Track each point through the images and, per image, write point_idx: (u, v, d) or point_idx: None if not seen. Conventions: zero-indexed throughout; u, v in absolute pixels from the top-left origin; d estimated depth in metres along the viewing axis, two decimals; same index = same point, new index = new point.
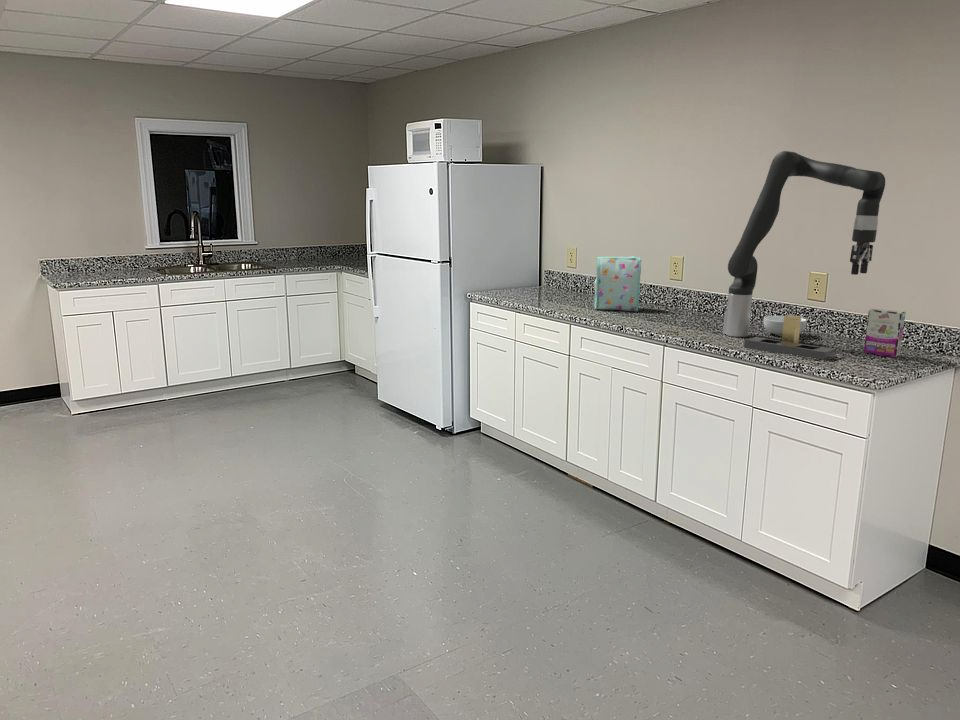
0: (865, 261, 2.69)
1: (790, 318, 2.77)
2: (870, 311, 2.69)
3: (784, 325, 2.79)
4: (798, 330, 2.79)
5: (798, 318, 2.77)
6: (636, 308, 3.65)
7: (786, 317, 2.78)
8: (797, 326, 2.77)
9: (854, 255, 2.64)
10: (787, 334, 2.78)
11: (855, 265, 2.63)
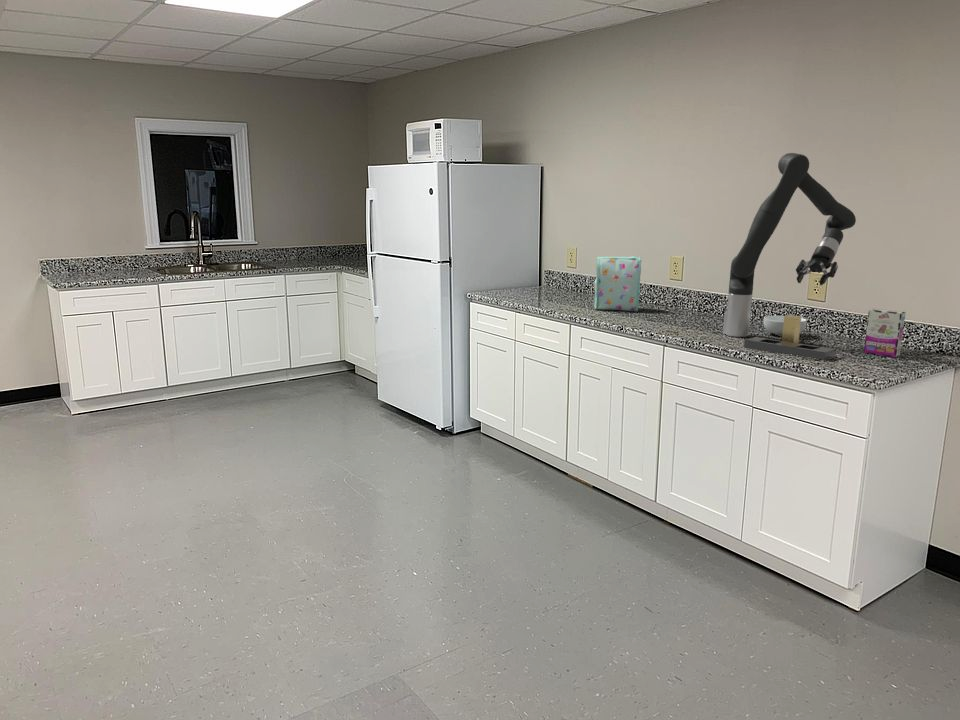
0: (803, 273, 2.88)
1: (790, 318, 2.77)
2: (870, 311, 2.69)
3: (784, 325, 2.79)
4: (798, 330, 2.79)
5: (798, 318, 2.77)
6: (636, 308, 3.65)
7: (786, 317, 2.78)
8: (797, 326, 2.77)
9: (825, 268, 2.82)
10: (787, 334, 2.78)
11: (826, 277, 2.81)
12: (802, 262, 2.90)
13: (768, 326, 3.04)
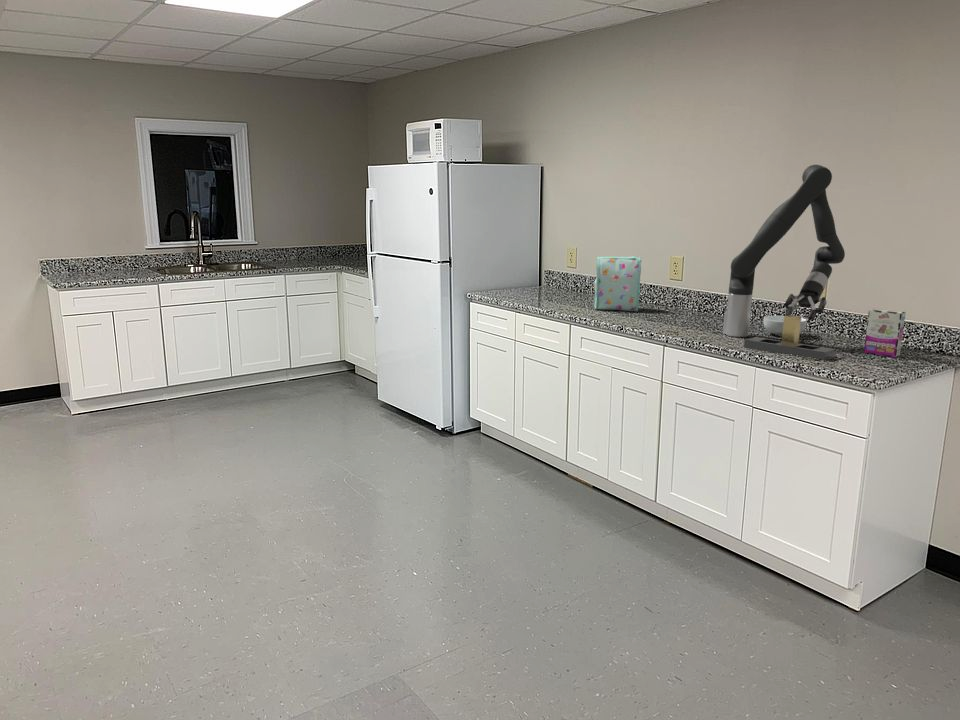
0: (792, 308, 2.86)
1: (790, 318, 2.77)
2: (870, 311, 2.69)
3: (784, 325, 2.79)
4: (798, 330, 2.79)
5: (798, 318, 2.77)
6: (636, 308, 3.65)
7: (786, 317, 2.78)
8: (797, 326, 2.77)
9: (814, 304, 2.81)
10: (787, 334, 2.78)
11: (815, 313, 2.79)
12: (791, 296, 2.88)
13: (768, 326, 3.04)
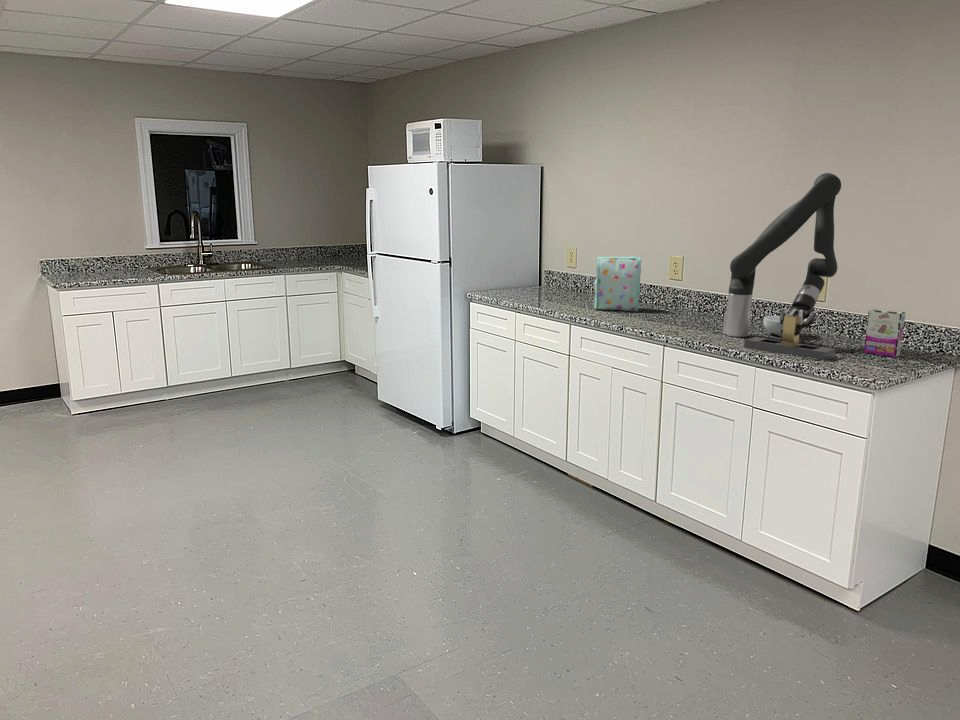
0: None
1: (790, 318, 2.77)
2: (870, 311, 2.69)
3: (784, 325, 2.79)
4: None
5: (798, 318, 2.77)
6: (636, 308, 3.65)
7: (786, 317, 2.78)
8: None
9: (802, 318, 2.78)
10: (787, 334, 2.78)
11: (801, 328, 2.77)
12: (783, 311, 2.84)
13: (768, 326, 3.04)
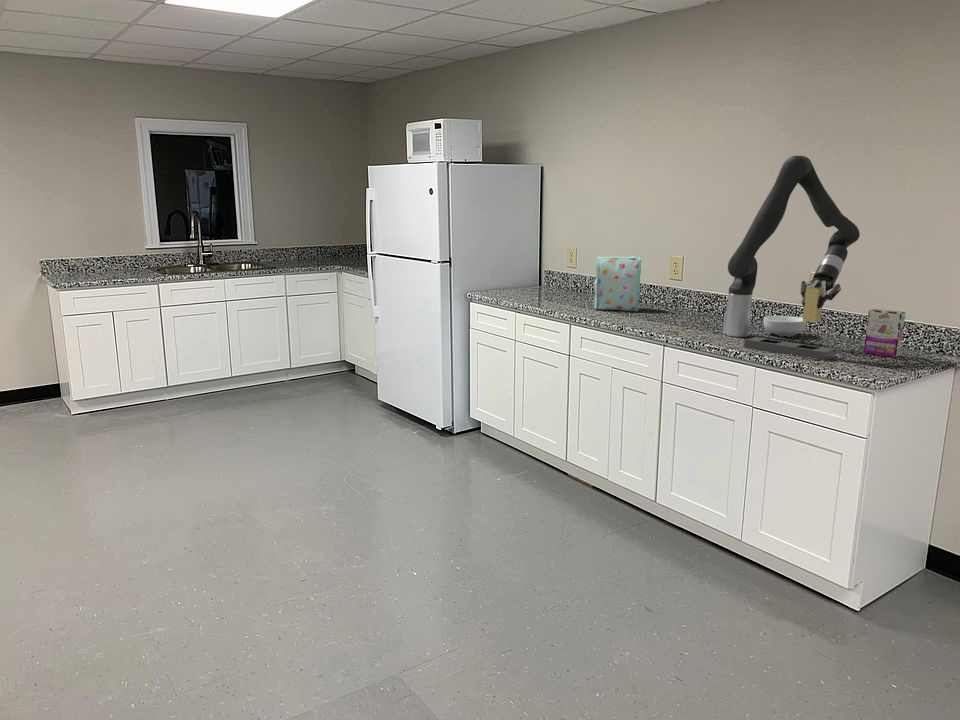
0: None
1: (812, 289, 2.60)
2: (870, 311, 2.69)
3: (806, 297, 2.62)
4: None
5: (821, 289, 2.60)
6: (636, 308, 3.65)
7: (808, 289, 2.61)
8: None
9: (825, 290, 2.61)
10: (809, 306, 2.61)
11: (824, 300, 2.60)
12: (804, 283, 2.67)
13: (768, 326, 3.04)
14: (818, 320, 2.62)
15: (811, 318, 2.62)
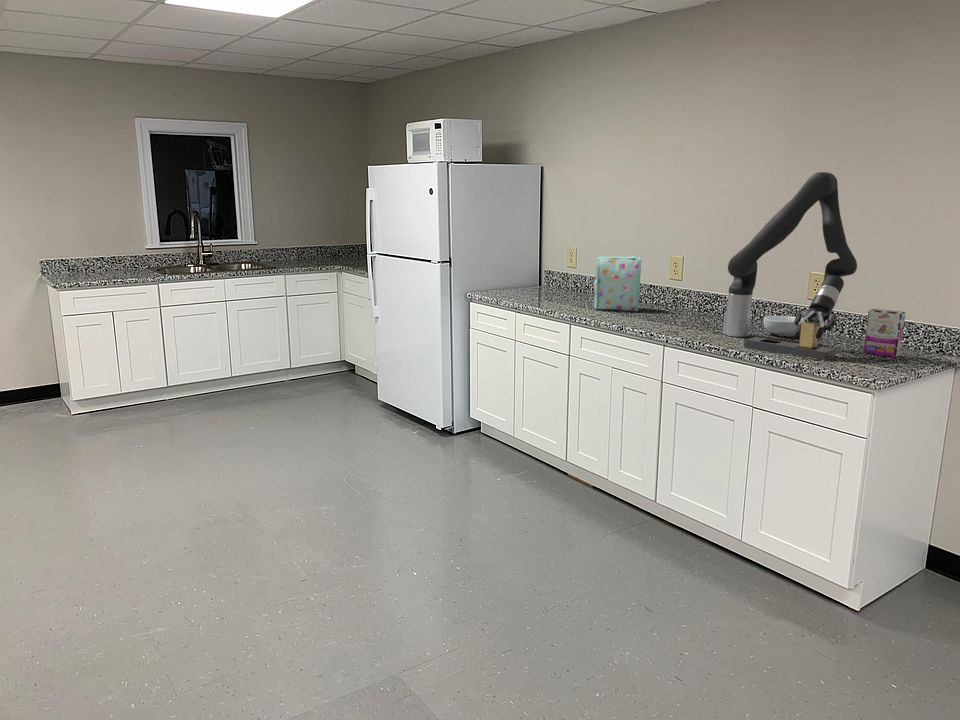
0: None
1: (808, 324, 2.62)
2: (870, 311, 2.69)
3: (801, 332, 2.64)
4: None
5: (816, 324, 2.62)
6: (636, 308, 3.65)
7: (804, 323, 2.64)
8: (815, 333, 2.63)
9: (823, 320, 2.63)
10: (805, 341, 2.64)
11: (823, 331, 2.62)
12: (800, 312, 2.70)
13: (768, 326, 3.04)
14: None
15: None
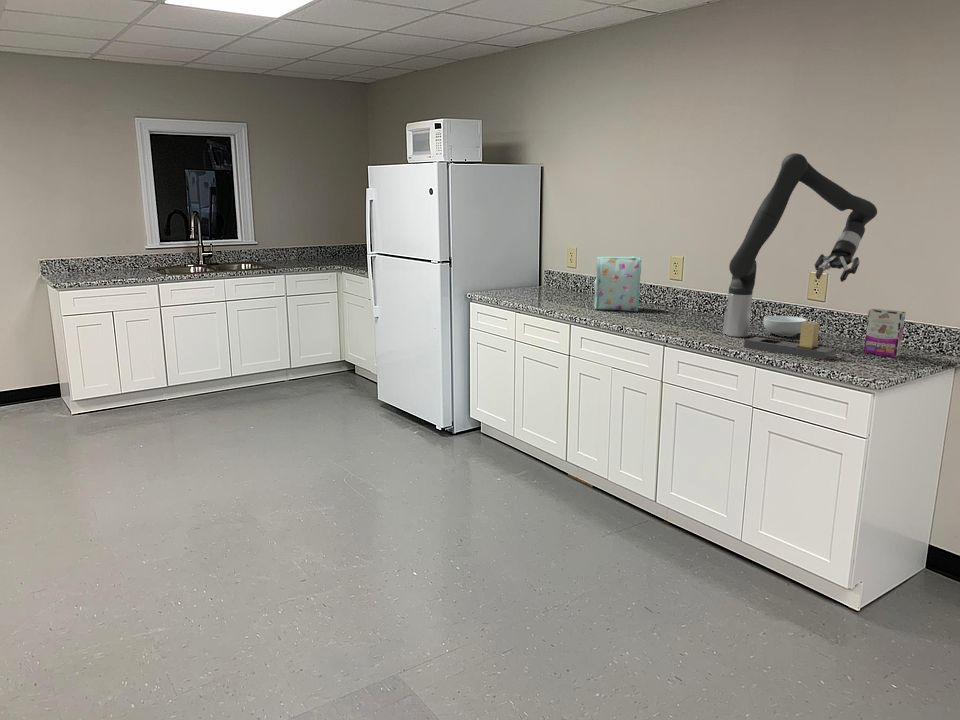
0: (822, 269, 2.73)
1: (808, 325, 2.62)
2: (870, 311, 2.69)
3: (801, 332, 2.64)
4: (816, 337, 2.64)
5: (816, 325, 2.62)
6: (636, 308, 3.65)
7: (804, 323, 2.63)
8: (815, 333, 2.63)
9: (846, 264, 2.67)
10: (805, 341, 2.64)
11: (847, 274, 2.66)
12: (821, 257, 2.75)
13: (768, 326, 3.04)
14: None
15: None
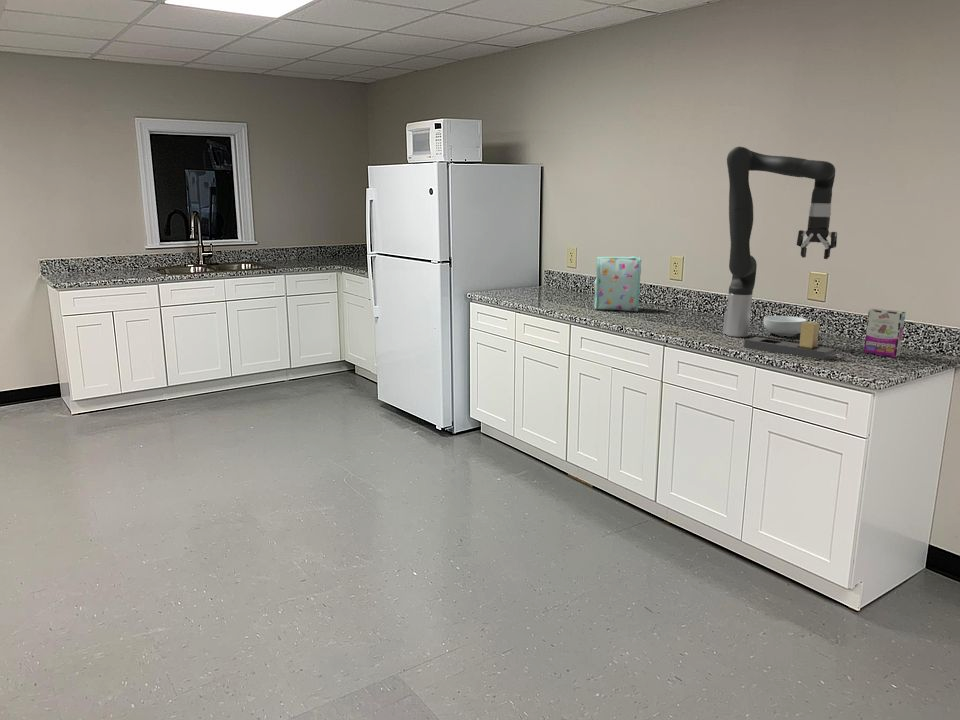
0: (805, 246, 2.88)
1: (808, 325, 2.62)
2: (870, 311, 2.69)
3: (801, 332, 2.64)
4: (816, 337, 2.64)
5: (816, 325, 2.62)
6: (636, 308, 3.65)
7: (804, 323, 2.63)
8: (815, 333, 2.63)
9: (825, 241, 2.81)
10: (805, 341, 2.64)
11: (829, 250, 2.81)
12: (800, 234, 2.87)
13: (768, 326, 3.04)
14: None
15: None
